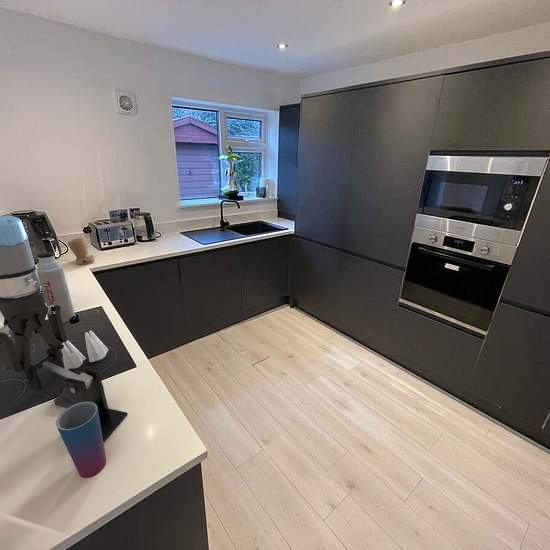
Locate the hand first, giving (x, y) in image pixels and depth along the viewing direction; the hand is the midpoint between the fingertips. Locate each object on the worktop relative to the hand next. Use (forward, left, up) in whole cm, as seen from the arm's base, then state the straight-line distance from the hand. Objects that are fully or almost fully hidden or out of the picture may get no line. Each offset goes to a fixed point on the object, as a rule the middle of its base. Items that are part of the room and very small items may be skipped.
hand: (48, 379), depth 69 cm
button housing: (0, +7, -12) cm, 14 cm away
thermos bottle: (-41, +40, -12) cm, 59 cm away
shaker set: (-10, +20, -12) cm, 25 cm away
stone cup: (-90, +100, -12) cm, 135 cm away
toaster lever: (+5, 0, +2) cm, 6 cm away
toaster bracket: (+11, 0, -12) cm, 16 cm away
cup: (+18, -9, -12) cm, 24 cm away
